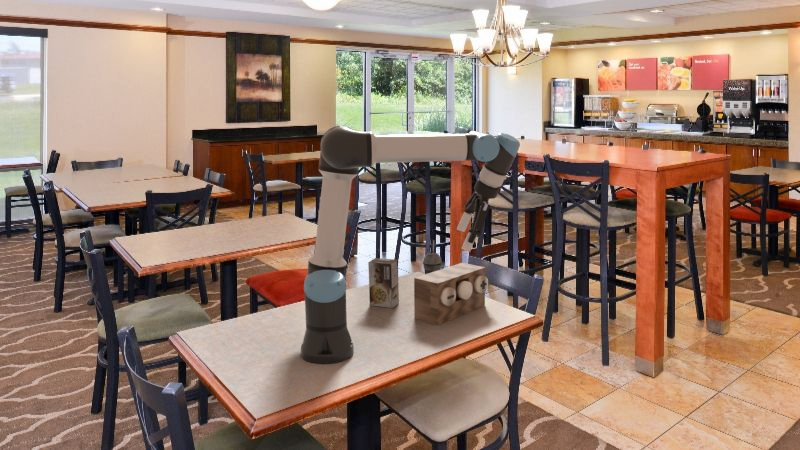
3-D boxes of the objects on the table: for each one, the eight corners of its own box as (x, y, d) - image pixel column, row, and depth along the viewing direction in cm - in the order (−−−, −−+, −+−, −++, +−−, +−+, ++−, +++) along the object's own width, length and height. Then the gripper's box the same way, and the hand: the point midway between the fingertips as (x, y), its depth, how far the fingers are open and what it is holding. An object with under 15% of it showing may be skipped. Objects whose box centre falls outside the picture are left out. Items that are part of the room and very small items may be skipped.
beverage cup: (419, 293, 242) (419, 241, 238) (427, 288, 248) (427, 237, 244) (437, 296, 238) (437, 243, 234) (445, 291, 244) (445, 239, 241)
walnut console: (443, 326, 207) (443, 284, 204) (414, 318, 215) (414, 277, 212) (490, 307, 225) (491, 268, 223) (462, 300, 234) (462, 262, 231)
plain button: (461, 301, 213) (461, 283, 212) (456, 300, 214) (456, 282, 213) (472, 297, 217) (472, 280, 216) (467, 296, 219) (467, 278, 217)
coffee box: (399, 303, 231) (398, 259, 228) (392, 308, 225) (391, 263, 222) (376, 300, 235) (375, 257, 231) (368, 305, 229) (367, 261, 226)
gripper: (507, 202, 188) (478, 262, 197) (494, 171, 211) (468, 226, 219) (484, 194, 187) (456, 255, 196) (473, 164, 209) (448, 219, 218)
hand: (462, 240), depth 207 cm, fingers open, 13 cm apart
